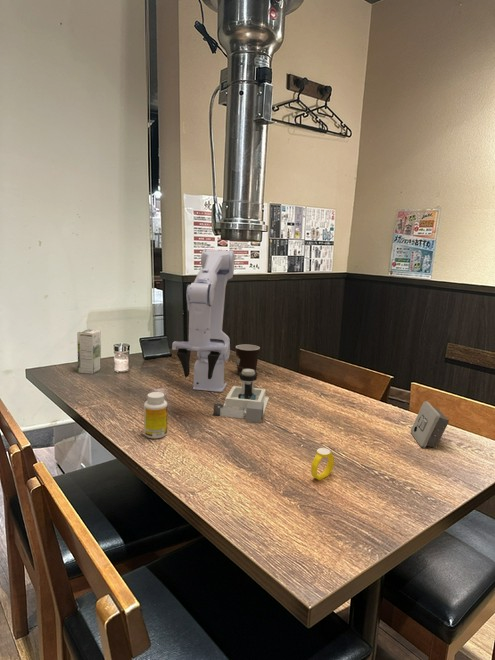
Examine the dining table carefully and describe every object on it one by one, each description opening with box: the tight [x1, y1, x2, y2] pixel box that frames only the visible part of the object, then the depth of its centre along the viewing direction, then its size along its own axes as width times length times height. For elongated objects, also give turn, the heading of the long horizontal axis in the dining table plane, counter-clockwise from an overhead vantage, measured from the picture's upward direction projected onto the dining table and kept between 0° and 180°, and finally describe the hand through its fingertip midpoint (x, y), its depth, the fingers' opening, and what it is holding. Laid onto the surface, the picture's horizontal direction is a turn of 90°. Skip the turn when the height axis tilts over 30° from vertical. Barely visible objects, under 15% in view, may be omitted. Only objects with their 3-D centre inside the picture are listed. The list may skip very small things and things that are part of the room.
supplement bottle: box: [143, 391, 168, 439], centre depth 105 cm, size 6×6×10 cm
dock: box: [223, 385, 270, 424], centre depth 125 cm, size 12×19×4 cm, turn 171°
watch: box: [310, 447, 335, 481], centre depth 89 cm, size 6×3×6 cm, turn 132°
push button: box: [238, 369, 259, 400], centre depth 126 cm, size 7×5×10 cm
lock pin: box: [212, 403, 246, 420], centre depth 119 cm, size 8×3×3 cm, turn 80°
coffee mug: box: [235, 343, 261, 377], centre depth 157 cm, size 12×9×10 cm
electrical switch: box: [410, 400, 450, 449], centre depth 108 cm, size 9×5×9 cm, turn 176°
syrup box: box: [76, 328, 102, 375], centre depth 150 cm, size 6×6×14 cm
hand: (198, 377), depth 118 cm, fingers open, 6 cm apart
